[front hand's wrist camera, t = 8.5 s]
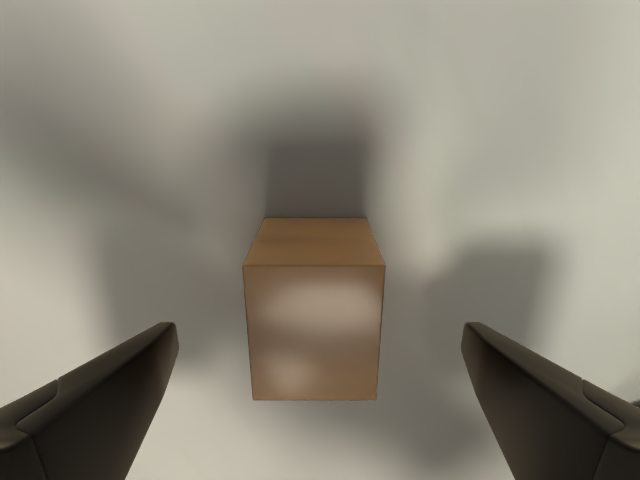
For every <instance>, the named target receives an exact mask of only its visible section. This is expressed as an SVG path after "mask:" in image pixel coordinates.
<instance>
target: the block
mask: <svg viewBox="0 0 640 480" xmlns="http://www.w3.org/2000/svg"><path fill="white" fill-rule="evenodd" d="M242 268H243V281H244V294H245V307H246V319H247V332H248V345H249V358H250V371H251V384H252V396H253V400H376V396H377V382H378V367H379V353H380V338H381V323H382V309H383V294H384V279H385V264H384V261H383V259H382V256H381V254H380V251H379V249H378V246H377V244H376V241H375V239H374V236H373V234H372V231H371V229H370V226H369V224H368V221H367V219H366V218H265V219H264V221H263V223H262V225H261V227H260V229H259V231H258V233H257V236H256V238H255V240H254V242H253V244H252V246H251V248H250V250H249V252H248V255H247V257H246V259H245V261H244V263H243V265H242Z"/></svg>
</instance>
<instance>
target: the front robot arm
mask: <svg viewBox="0 0 640 480" xmlns="http://www.w3.org/2000/svg"><path fill="white" fill-rule="evenodd" d="M178 350H179V343H178V336H177V330H176V325H175V324H174V323H173V322H161V323H158V324H157V325H155V326H153V327H151V328H149V329H147V330H146V331H144V332H142V333H140V334H138V335H136V336H135V337H133V338H131V339H129V340H127V341H125V342H124V343H122V344H120V345H118V346H116V347H114V348H113V349H111V350H109V351H107V352H105V353H103V354H102V355H100V356H98V357H96V358H94V359H92V360H91V361H89V362H87V363H85V364H83V365H81V366H80V367H78V368H76V369H74V370H72V371H70V372H69V373H67V374H65V375H63V376H61V377H59V378H58V380H54V381H52V382H50V383H48V384H46V385H45V386H43V387H41V388H39V389H37V390H35V391H33V392H31V393H29V394H28V395H26V396H24V397H22V398H20V399H18V400H16V401H14V402H12V403H10V404H8V405H6V406H4V407H1V408H0V480H125V478H126V476H127V474H128V472H129V470H130V467H131V465H132V463H133V461H134V459H135V457H136V455H137V452H138V450H139V448H140V446H141V444H142V442H143V439H144V437H145V435H146V433H147V431H148V429H149V427H150V424H151V422H152V420H153V418H154V416H155V414H156V411H157V409H158V407H159V405H160V403H161V400H162V398H163V396H164V393H165V390H166V388H167V384H168V381H169V378H170V375H171V372H172V369H173V366H174V363H175V360H176V357H177V354H178ZM461 350H462V354H463V357H464V360H465V363H466V366H467V369H468V372H469V375H470V378H471V381H472V384H473V388H474V390H475V393H476V396H477V398H478V400H479V403H480V405H481V407H482V409H483V411H484V414H485V416H486V418H487V420H488V422H489V424H490V427H491V429H492V431H493V433H494V435H495V437H496V439H497V442H498V444H499V446H500V448H501V450H502V452H503V455H504V457H505V459H506V461H507V463H508V465H509V467H510V470H511V472H512V474H513V476H514V478H515V480H640V408H639V407H636V406H634V405H632V404H630V403H628V402H626V401H624V400H622V399H620V398H618V397H616V396H614V395H612V394H611V393H609V392H607V391H605V390H603V389H601V388H599V387H597V386H595V385H594V384H592V383H590V382H588V381H586V380H582V378H581V377H579V376H577V375H575V374H573V373H571V372H570V371H568V370H566V369H564V368H562V367H560V366H559V365H557V364H555V363H553V362H551V361H549V360H548V359H546V358H544V357H542V356H540V355H538V354H537V353H535V352H533V351H531V350H529V349H527V348H526V347H524V346H522V345H520V344H518V343H516V342H515V341H513V340H511V339H509V338H507V337H505V336H504V335H502V334H500V333H498V332H496V331H494V330H493V329H491V328H489V327H487V326H485V325H483V324H482V323H479V322H467V323H466V324H465V325H464V330H463V336H462V343H461Z"/></svg>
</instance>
